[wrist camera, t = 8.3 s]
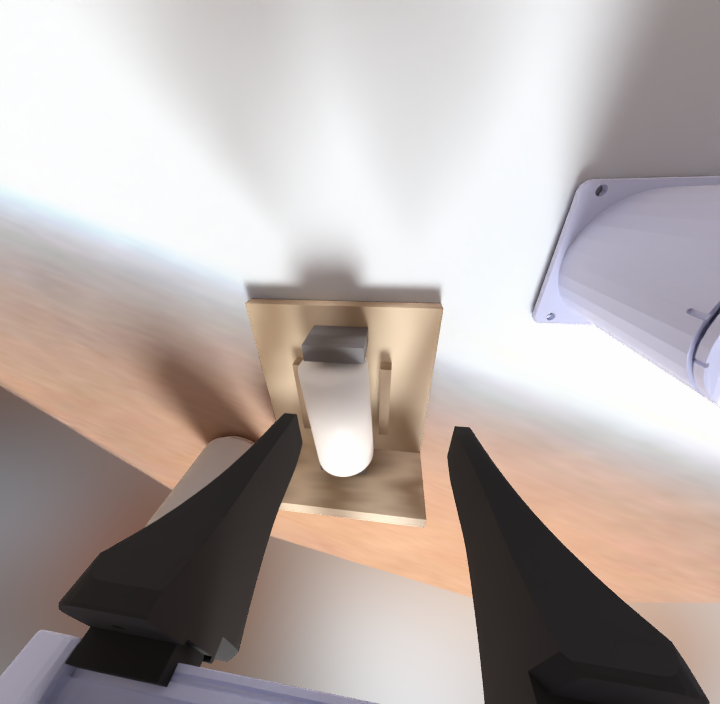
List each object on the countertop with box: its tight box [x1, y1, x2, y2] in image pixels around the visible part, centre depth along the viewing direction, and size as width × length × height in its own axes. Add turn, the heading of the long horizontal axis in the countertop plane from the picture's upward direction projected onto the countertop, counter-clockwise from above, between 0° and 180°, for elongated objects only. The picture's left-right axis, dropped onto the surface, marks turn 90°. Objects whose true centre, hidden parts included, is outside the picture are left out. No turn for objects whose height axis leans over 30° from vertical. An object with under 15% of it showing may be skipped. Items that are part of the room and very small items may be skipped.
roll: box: [298, 357, 374, 477], centre depth 20 cm, size 5×9×5 cm, turn 5°
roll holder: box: [245, 299, 443, 528], centre depth 20 cm, size 14×16×7 cm
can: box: [144, 436, 254, 528], centre depth 25 cm, size 8×8×12 cm
